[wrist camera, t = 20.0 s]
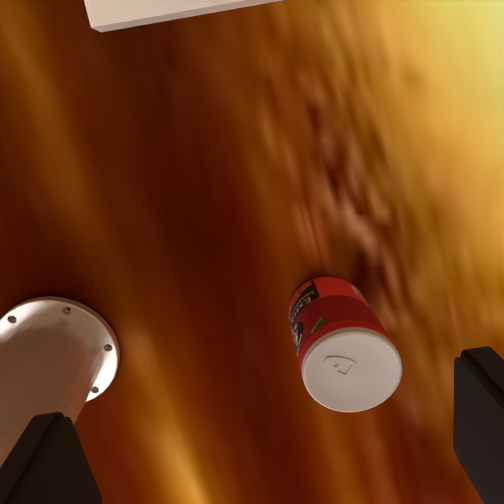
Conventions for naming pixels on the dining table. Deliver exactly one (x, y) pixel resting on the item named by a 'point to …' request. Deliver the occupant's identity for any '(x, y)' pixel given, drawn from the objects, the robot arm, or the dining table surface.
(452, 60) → the dining table surface
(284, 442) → the dining table surface
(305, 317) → the canned food
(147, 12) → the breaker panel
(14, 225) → the dining table surface
